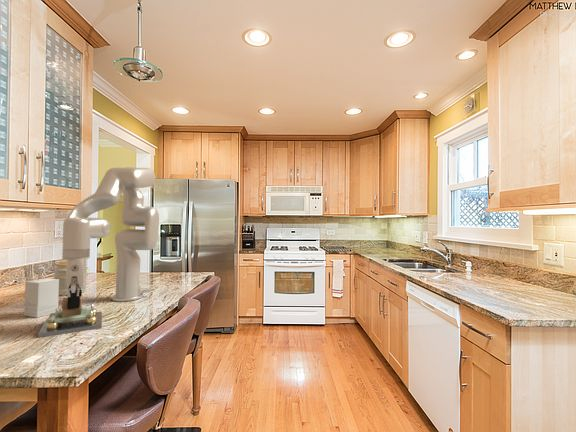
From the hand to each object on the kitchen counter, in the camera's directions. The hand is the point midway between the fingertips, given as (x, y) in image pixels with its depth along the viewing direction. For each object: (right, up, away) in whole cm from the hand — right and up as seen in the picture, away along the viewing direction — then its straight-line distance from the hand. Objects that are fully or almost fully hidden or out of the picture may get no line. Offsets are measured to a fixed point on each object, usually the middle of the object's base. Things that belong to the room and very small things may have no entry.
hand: (74, 304), depth 98 cm
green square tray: (0, -4, -1) cm, 4 cm away
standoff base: (0, -7, 0) cm, 7 cm away
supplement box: (-20, -7, +10) cm, 24 cm away
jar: (-34, -8, +43) cm, 55 cm away
